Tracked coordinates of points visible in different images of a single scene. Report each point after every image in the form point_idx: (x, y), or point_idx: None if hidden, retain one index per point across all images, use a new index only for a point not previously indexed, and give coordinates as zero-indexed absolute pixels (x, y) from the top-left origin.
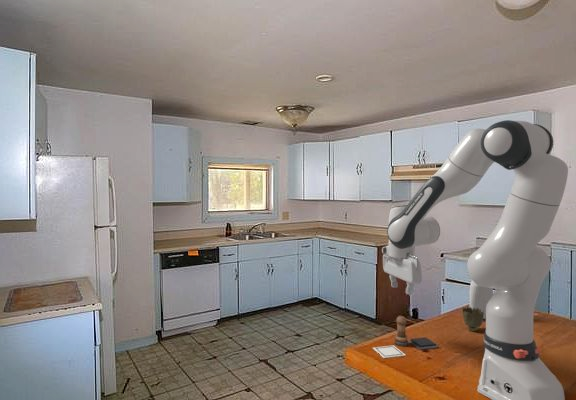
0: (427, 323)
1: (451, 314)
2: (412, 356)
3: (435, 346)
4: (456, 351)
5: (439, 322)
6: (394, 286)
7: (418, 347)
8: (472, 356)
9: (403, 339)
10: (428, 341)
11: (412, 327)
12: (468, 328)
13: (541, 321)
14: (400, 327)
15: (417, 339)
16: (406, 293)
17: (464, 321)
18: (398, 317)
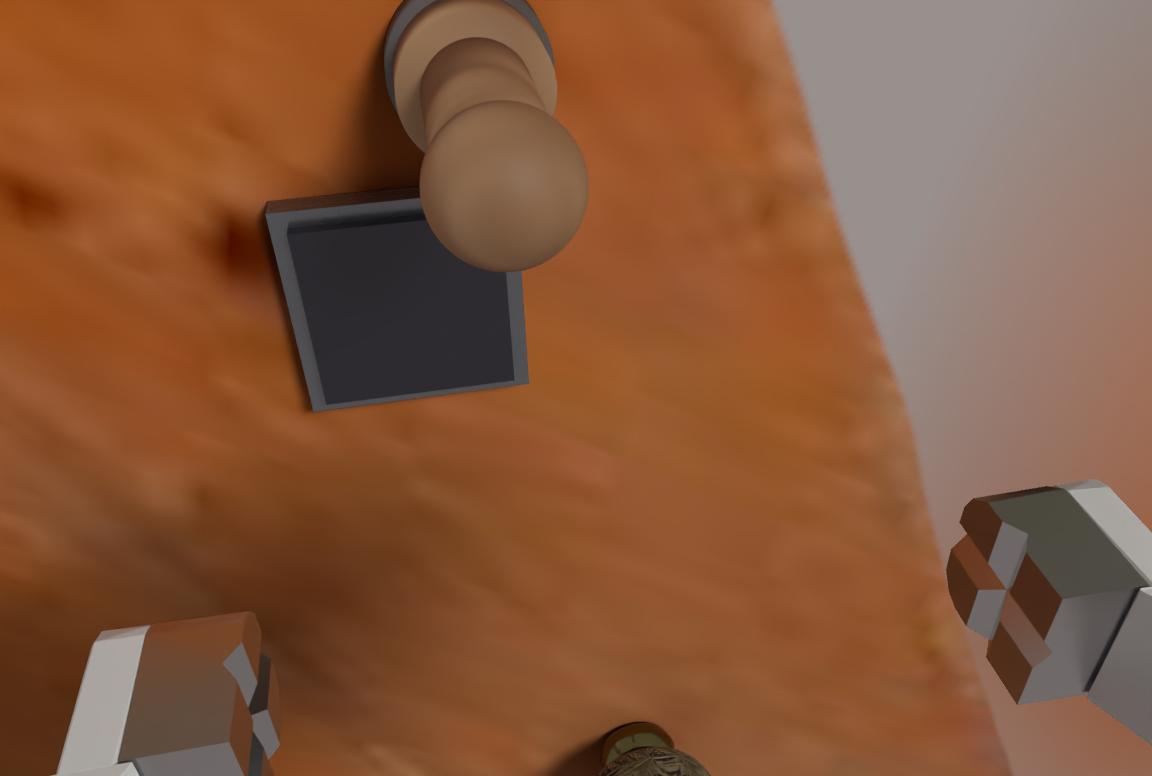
0: (887, 524)
1: (962, 723)
2: (54, 21)
3: (307, 381)
4: (217, 505)
5: (864, 609)
6: (983, 539)
7: (298, 205)
8: (103, 573)
9: (396, 84)
10: (396, 362)
11: (862, 373)
12: (640, 731)
13: None
14: (438, 112)
15: (467, 276)
16: (158, 627)
17: (674, 762)
18: (505, 160)
